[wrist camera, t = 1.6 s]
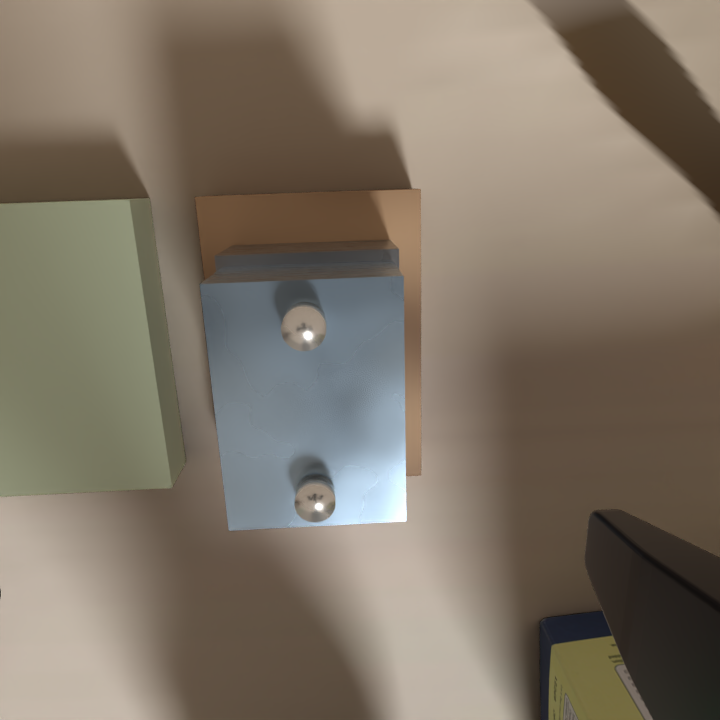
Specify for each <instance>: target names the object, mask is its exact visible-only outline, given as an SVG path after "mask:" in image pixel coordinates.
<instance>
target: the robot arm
mask: <svg viewBox="0 0 720 720" xmlns="http://www.w3.org/2000/svg"><path fill="white" fill-rule="evenodd" d="M585 566H586V570H587V574H588V576H589V579H590V581H591V584H592V586H593V589H594V591H595V594H596V596H597V598H598V601H599V603H600V606H601V608H602V611H603V613H604V616H605V618H606V621H607V623H608V626H609V628H610V631H611V633H612V636H613V638H614V641H615V643H616V645H617V648H618V650H619V653H620V655H621V657H622V660H623V662H624V664H625V667H626V669H627V671H628V673H629V675H630V677H631V679H632V681H633V683H634V685H635V687H636V688H637V690H638V692H639V694H640V696H641V698H642V700H643V702H644V704H645V705H646V707H647V709H648V711H649V713H650V715H651V717H652V719H653V720H720V558H719V557H717V556H715V555H713V554H711V553H709V552H707V551H705V550H703V549H701V548H699V547H697V546H694V545H692V544H690V543H688V542H686V541H684V540H682V539H680V538H678V537H676V536H674V535H672V534H670V533H667V532H665V531H663V530H661V529H659V528H657V527H655V526H653V525H651V524H649V523H647V522H645V521H643V520H640V519H638V518H636V517H634V516H632V515H630V514H628V513H626V512H624V511H622V510H618V509H611V510H596V511H593V512H592V513H591V514H590V517H589V520H588V529H587V539H586V548H585ZM0 597H1V590H0Z"/></svg>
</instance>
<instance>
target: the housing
mask: <svg viewBox="0 0 720 720" xmlns="http://www.w3.org/2000/svg"><path fill="white" fill-rule="evenodd" d="M214 257H215V266H216V272H215V273H214V274H213V275H211V276H210V277H209V278H207V279H206V280H204V281H203V282H202V283H200V292H201V301H202V309H203V318H204V326H205V335H206V343H207V351H208V360H209V368H210V377H211V385H212V394H213V402H214V411H215V419H216V428H217V436H218V444H219V453H220V461H221V470H222V478H223V487H224V495H225V504H226V512H227V520H228V529H229V531H234V530H253V529H272V528H290V527H309V526H328V525H346V524H365V523H384V522H402V521H406V440H405V345H404V276H403V274H402V273H401V272H400V270H399V248H398V247H397V246H396V245H395V244H394V243H393V242H392V241H391V240H390V239H384V240H357V241H331V242H305V243H279V244H253V245H232V246H230V247H229V248H227V249H225V250H224V251H222V252H220V253H218V254H217V255H215V256H214Z"/></svg>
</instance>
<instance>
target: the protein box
mask: <svg viewBox="0 0 720 720" xmlns="http://www.w3.org/2000/svg"><path fill="white" fill-rule="evenodd" d="M540 700H541V720H653V719H652V717H651V715H650V713H649V711H648V709H647V707H646V705H645V704H644V702H643V700H642V698H641V696H640V694H639V692H638V690H637V688H636V687H635V685H634V683H633V681H632V679H631V677H630V675H629V673H628V671H627V669H626V667H625V664H624V662H623V660H622V657H621V655H620V653H619V650H618V648H617V645H616V643H615V641H614V638H613V636H612V633H611V631H610V628H609V626H608V623H607V621H606V618H605V616H604V613H603V611H598V612H589V613H582V614H574V615H566V616H558V617H549V618H545V619H543V620H542V621H541V622H540Z"/></svg>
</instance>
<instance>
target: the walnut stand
mask: <svg viewBox="0 0 720 720" xmlns="http://www.w3.org/2000/svg"><path fill="white" fill-rule="evenodd" d="M195 203H196V212H197V221H198V229H199V238H200V247H201V255H202V264H203V273H204V280H206V279H207V278H209V277H210V276H211V275H213V274H214V273H215V272H216V266H215V257H214V256H215V255H217V254H218V253H220V252H222V251H224V250H225V249H227V248H229V247H230V246H232V245H253V244H279V243H305V242H331V241H357V240H384V239H390V240H391V241H392V242H393V243H394V244H395V245H396V246H397V247H398V248H399V270H400V272H401V273H402V274H403V276H404V345H405V440H406V476H418V475H421V189H390V190H361V191H333V192H305V193H277V194H249V195H221V196H202V197H195Z"/></svg>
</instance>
